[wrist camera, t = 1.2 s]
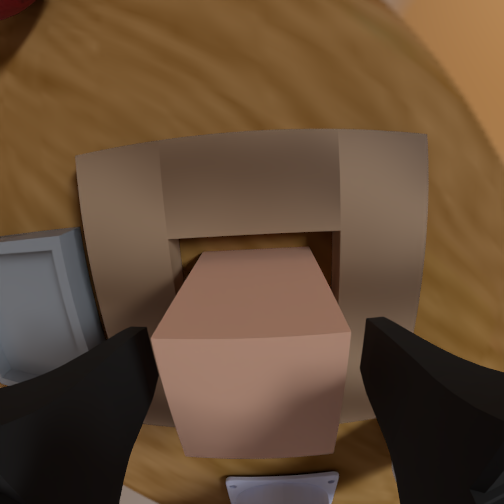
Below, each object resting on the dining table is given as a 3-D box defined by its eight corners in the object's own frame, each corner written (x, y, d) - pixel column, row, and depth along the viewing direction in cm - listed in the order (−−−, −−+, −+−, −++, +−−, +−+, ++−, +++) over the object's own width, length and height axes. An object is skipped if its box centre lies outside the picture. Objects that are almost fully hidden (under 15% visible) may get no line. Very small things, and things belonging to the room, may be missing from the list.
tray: (122, 389, 16) (111, 409, 14) (13, 369, 16) (0, 383, 15) (79, 226, 13) (58, 235, 12) (-28, 240, 14) (-47, 248, 12)
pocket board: (385, 397, 16) (392, 414, 14) (145, 406, 16) (138, 423, 15) (410, 136, 12) (427, 134, 10) (92, 155, 12) (75, 156, 11)
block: (308, 337, 15) (333, 453, 8) (214, 341, 15) (185, 456, 8) (308, 246, 13) (351, 331, 7) (203, 251, 13) (150, 338, 7)
